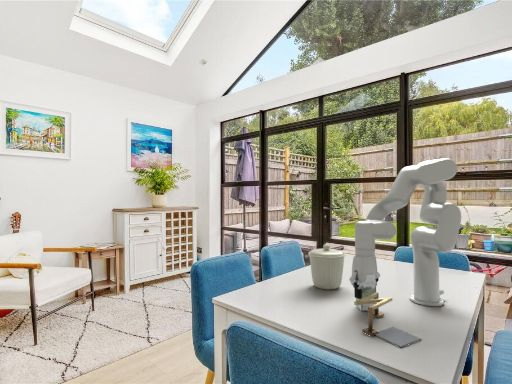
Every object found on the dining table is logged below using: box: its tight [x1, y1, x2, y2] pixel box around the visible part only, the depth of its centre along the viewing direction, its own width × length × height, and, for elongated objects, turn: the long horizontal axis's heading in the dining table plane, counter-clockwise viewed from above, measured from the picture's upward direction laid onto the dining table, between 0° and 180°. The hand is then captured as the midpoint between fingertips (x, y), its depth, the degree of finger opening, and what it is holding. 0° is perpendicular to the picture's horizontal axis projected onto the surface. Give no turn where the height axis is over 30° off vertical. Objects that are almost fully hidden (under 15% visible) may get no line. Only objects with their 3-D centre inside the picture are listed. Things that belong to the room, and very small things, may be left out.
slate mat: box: [375, 326, 422, 348], centre depth 97 cm, size 10×10×1 cm
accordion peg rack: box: [353, 291, 393, 337], centre depth 108 cm, size 18×13×8 cm
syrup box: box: [355, 273, 375, 312], centre depth 122 cm, size 6×6×14 cm
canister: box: [307, 243, 347, 291], centre depth 152 cm, size 18×18×21 cm
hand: (365, 296), depth 122 cm, fingers closed on syrup box, 7 cm apart
